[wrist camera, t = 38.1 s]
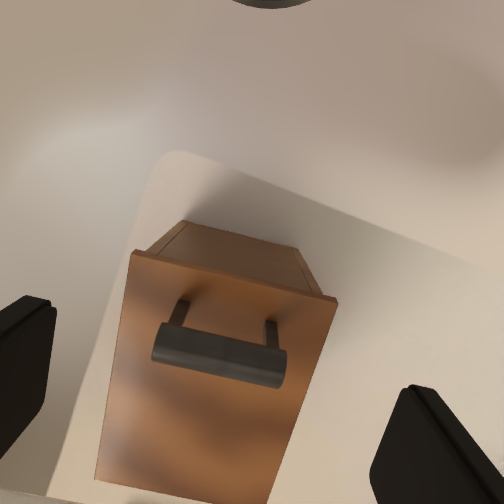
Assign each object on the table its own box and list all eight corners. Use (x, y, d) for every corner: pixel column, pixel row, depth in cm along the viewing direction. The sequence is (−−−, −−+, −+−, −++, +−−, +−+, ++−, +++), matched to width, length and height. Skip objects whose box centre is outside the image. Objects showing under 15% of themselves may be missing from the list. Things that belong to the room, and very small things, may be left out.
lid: (135, 248, 21) (94, 290, 16) (336, 297, 22) (360, 352, 17) (98, 469, 27) (58, 556, 21) (262, 503, 27) (263, 595, 22)
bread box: (181, 219, 37) (140, 254, 23) (298, 248, 38) (326, 299, 24) (150, 363, 41) (98, 469, 27) (258, 388, 41) (262, 503, 27)
